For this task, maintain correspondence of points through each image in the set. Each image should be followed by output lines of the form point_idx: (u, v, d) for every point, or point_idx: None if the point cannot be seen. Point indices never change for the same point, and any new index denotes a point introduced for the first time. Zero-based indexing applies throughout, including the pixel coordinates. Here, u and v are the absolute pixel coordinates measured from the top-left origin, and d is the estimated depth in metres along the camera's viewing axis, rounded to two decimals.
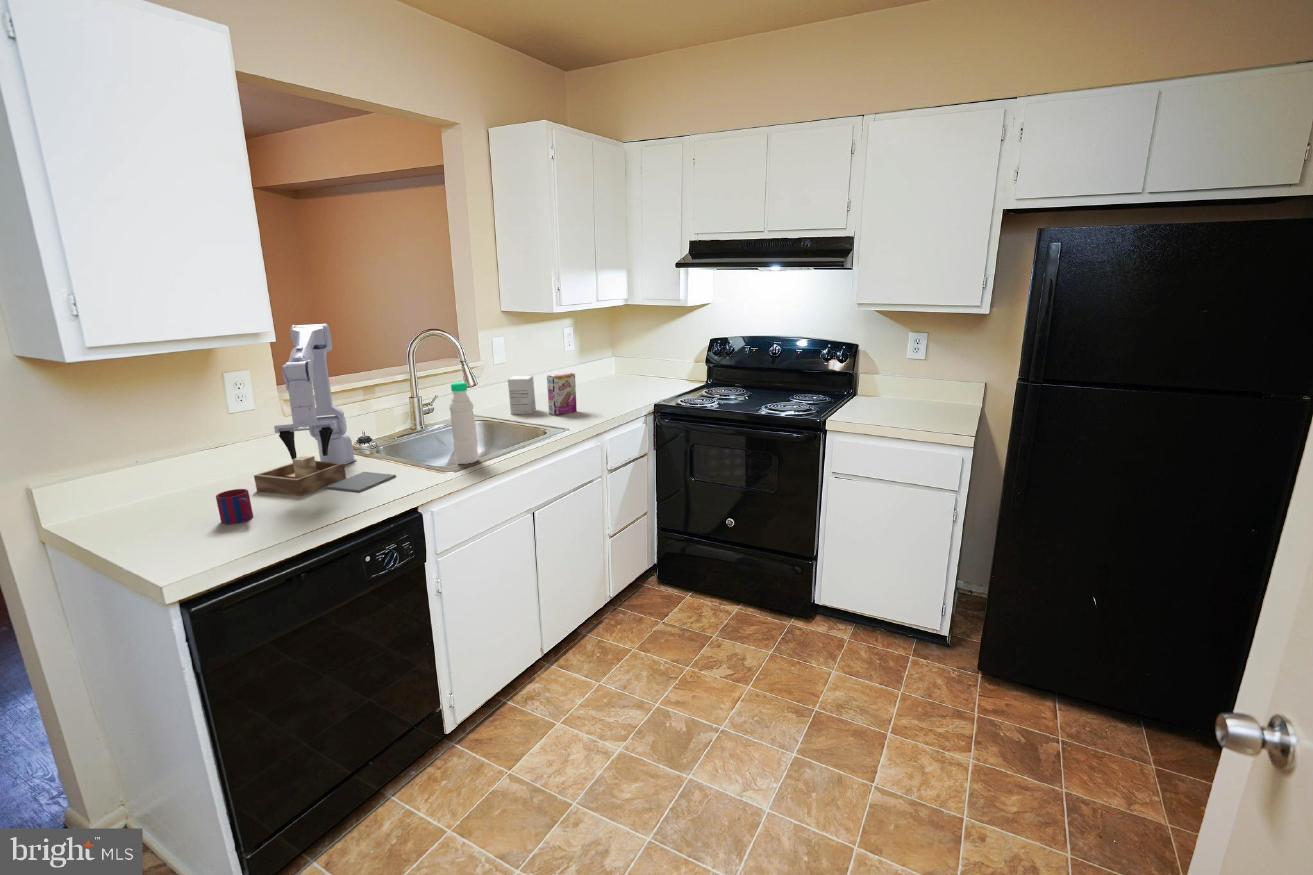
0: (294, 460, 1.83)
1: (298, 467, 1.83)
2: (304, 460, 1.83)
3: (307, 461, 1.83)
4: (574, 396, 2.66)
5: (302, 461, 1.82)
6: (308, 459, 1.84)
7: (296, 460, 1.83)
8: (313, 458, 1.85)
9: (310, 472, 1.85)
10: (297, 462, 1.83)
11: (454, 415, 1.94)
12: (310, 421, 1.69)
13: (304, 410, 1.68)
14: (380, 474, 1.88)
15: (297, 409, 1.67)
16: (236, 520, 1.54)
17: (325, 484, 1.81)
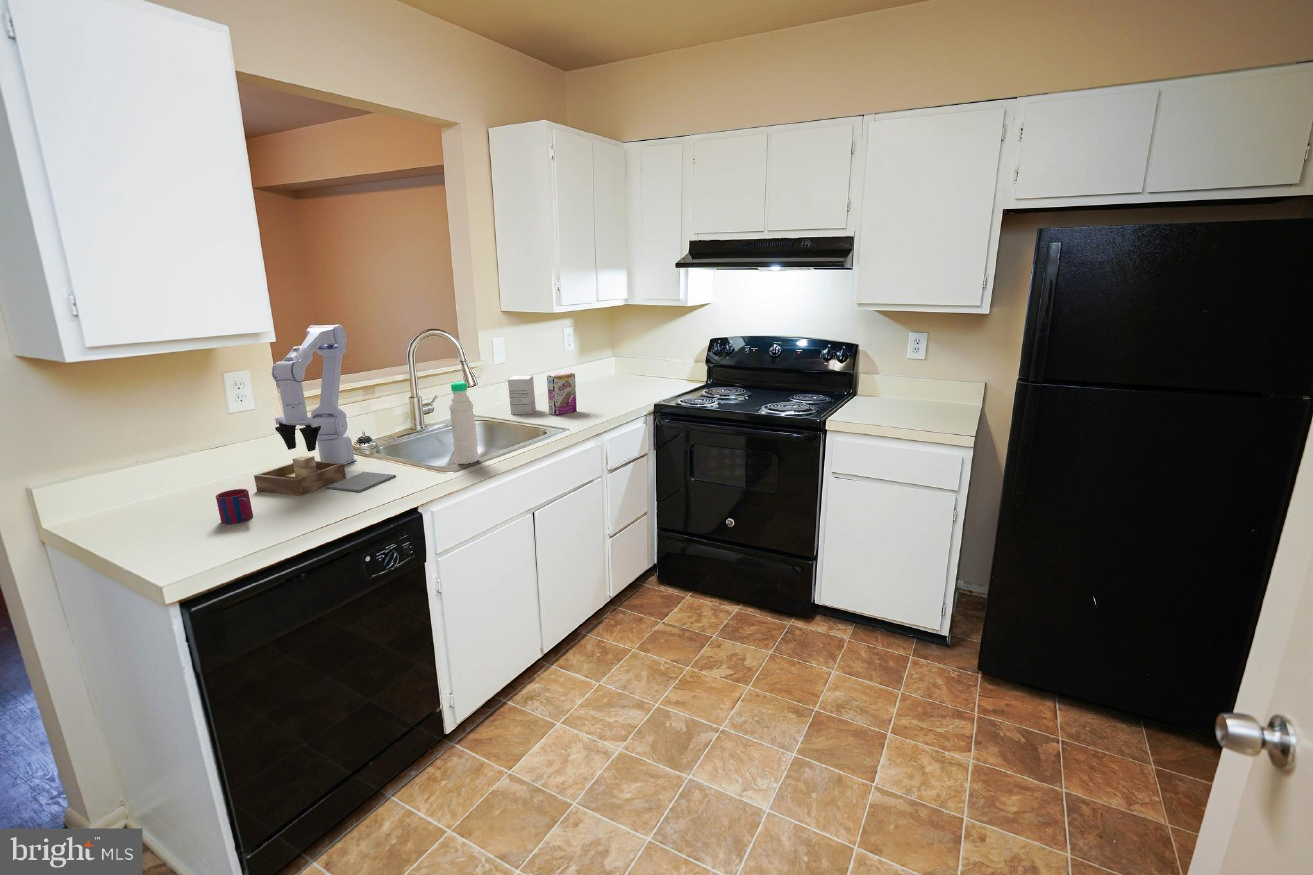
0: (294, 460, 1.83)
1: (298, 467, 1.83)
2: (304, 460, 1.83)
3: (307, 461, 1.83)
4: (574, 396, 2.66)
5: (302, 461, 1.82)
6: (308, 459, 1.84)
7: (296, 460, 1.83)
8: (313, 458, 1.85)
9: (310, 472, 1.85)
10: (297, 462, 1.83)
11: (454, 415, 1.94)
12: (294, 418, 1.79)
13: (288, 408, 1.78)
14: (380, 474, 1.88)
15: (283, 407, 1.78)
16: (236, 520, 1.54)
17: (325, 484, 1.81)
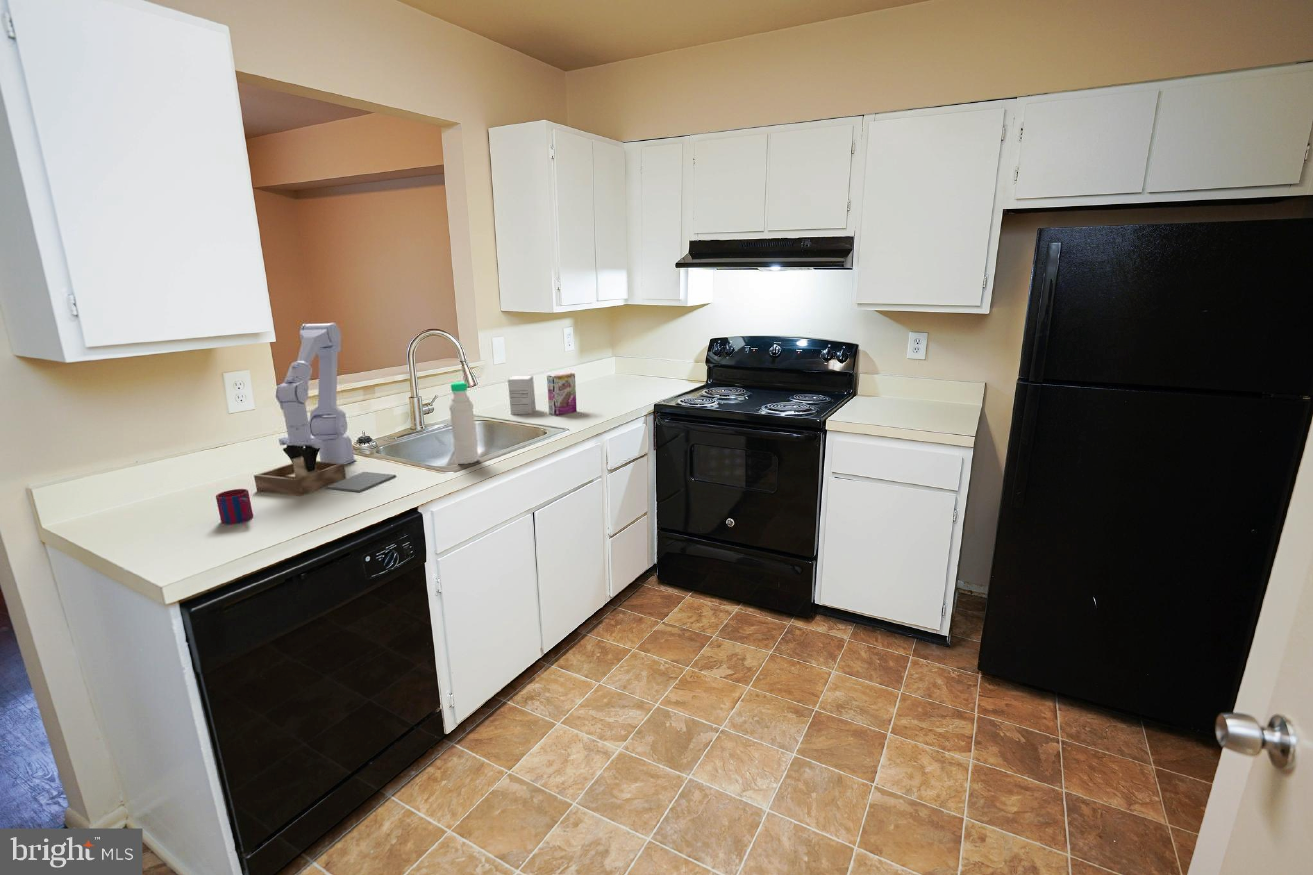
0: (294, 460, 1.83)
1: (298, 467, 1.83)
2: None
3: None
4: (574, 396, 2.66)
5: (302, 461, 1.82)
6: None
7: (296, 460, 1.83)
8: None
9: (310, 472, 1.85)
10: (297, 462, 1.83)
11: (454, 415, 1.94)
12: (298, 439, 1.80)
13: (292, 430, 1.79)
14: (380, 474, 1.88)
15: (287, 428, 1.80)
16: (236, 520, 1.54)
17: (325, 484, 1.81)
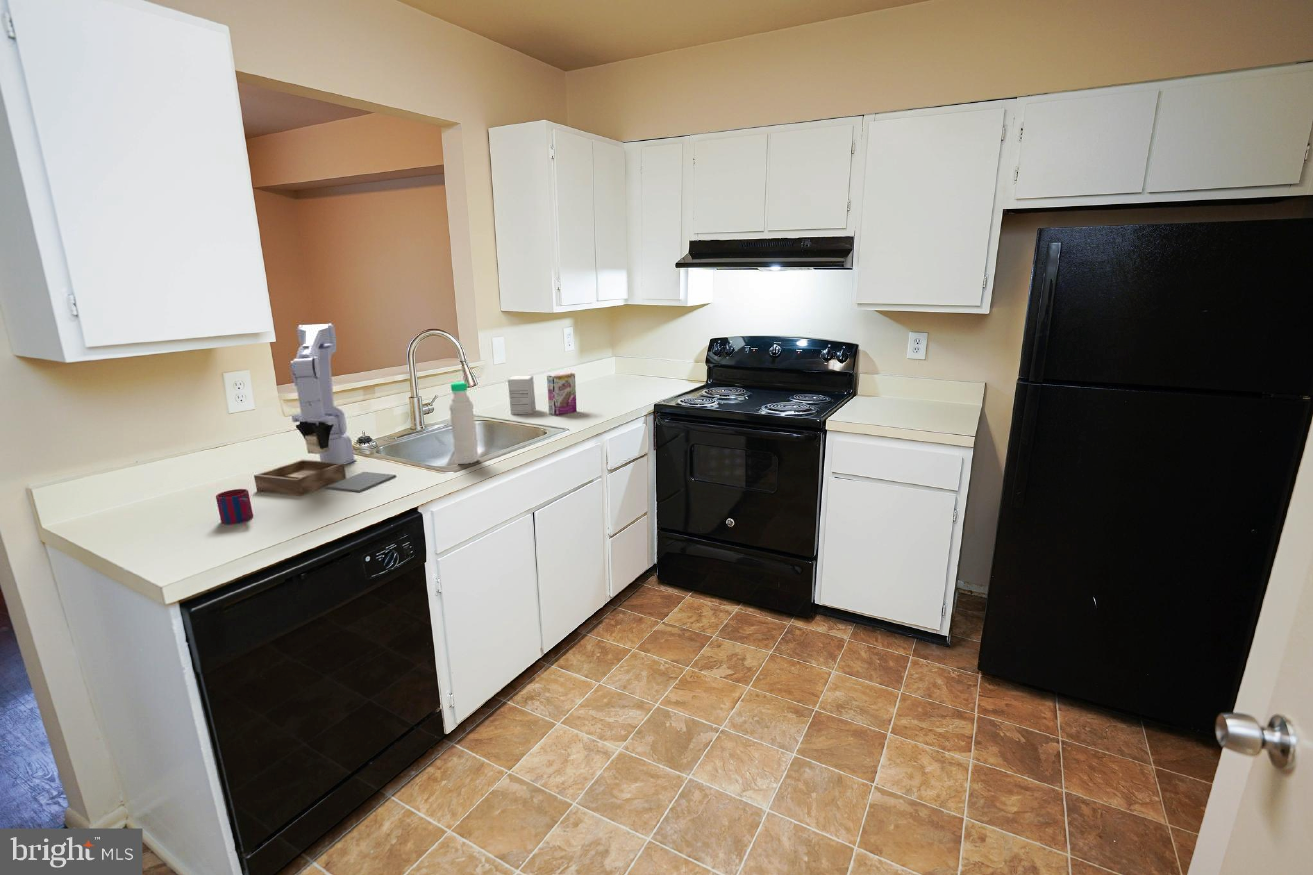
0: (307, 437, 1.80)
1: (310, 445, 1.80)
2: None
3: None
4: (574, 396, 2.66)
5: (315, 438, 1.79)
6: None
7: (309, 437, 1.80)
8: None
9: (323, 450, 1.82)
10: (309, 439, 1.80)
11: (454, 415, 1.94)
12: (311, 416, 1.78)
13: (305, 406, 1.77)
14: (380, 474, 1.88)
15: (300, 404, 1.77)
16: (236, 520, 1.54)
17: (325, 484, 1.81)
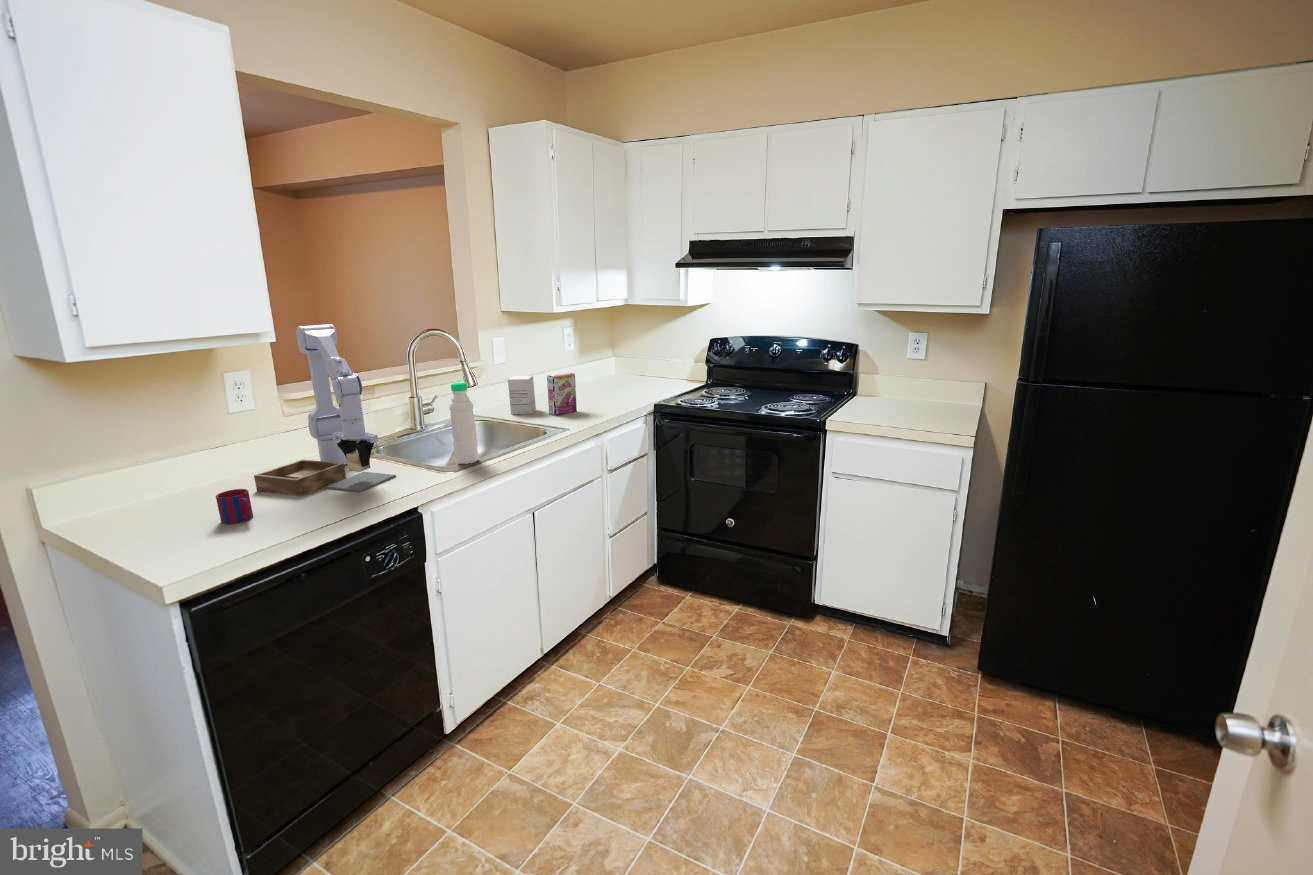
0: (348, 455, 1.79)
1: (352, 463, 1.79)
2: (358, 455, 1.79)
3: None
4: (574, 396, 2.66)
5: (356, 456, 1.78)
6: None
7: (350, 455, 1.79)
8: None
9: (364, 467, 1.81)
10: (351, 457, 1.79)
11: (454, 415, 1.94)
12: (353, 434, 1.77)
13: (347, 424, 1.76)
14: (380, 474, 1.88)
15: (342, 422, 1.76)
16: (236, 520, 1.54)
17: (325, 484, 1.81)
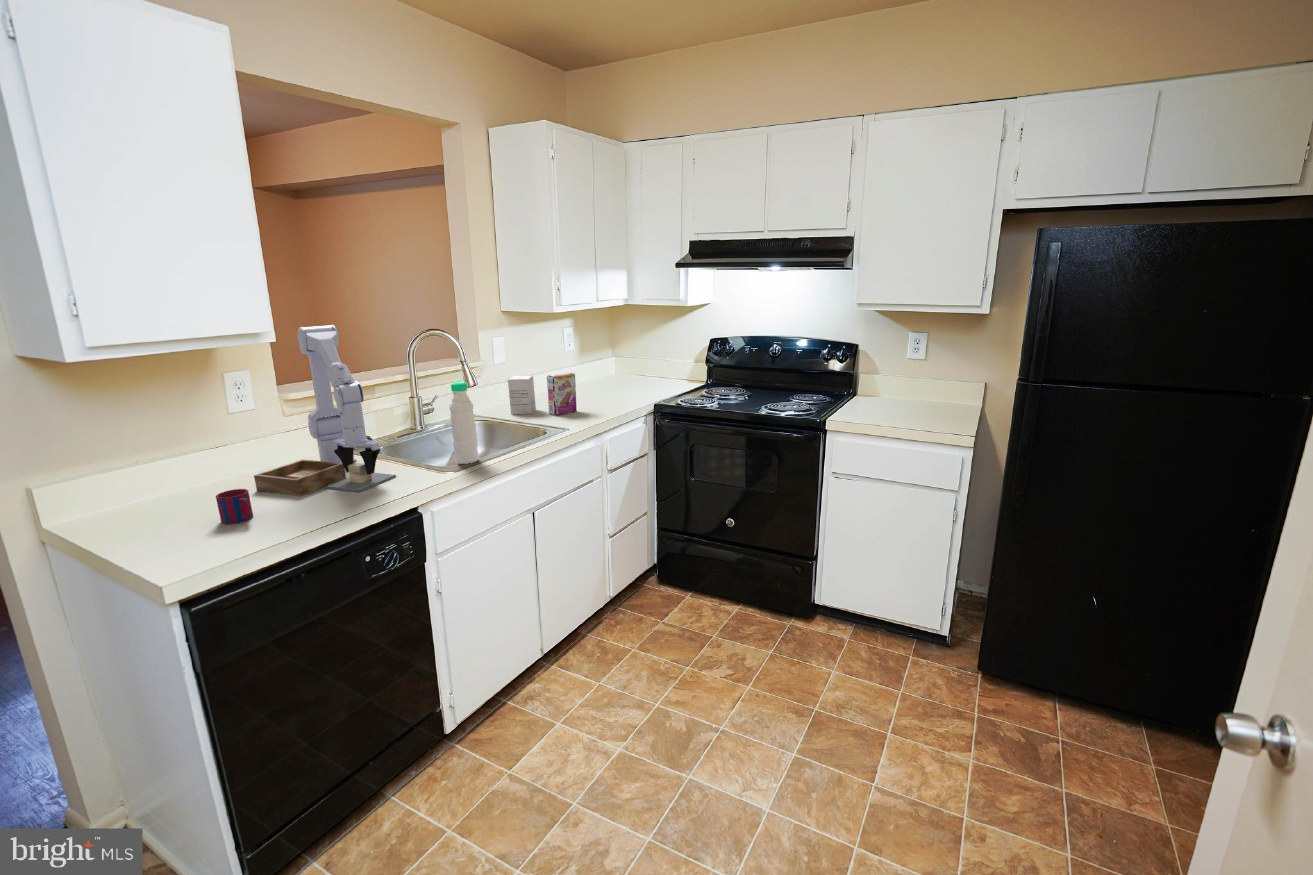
0: (350, 466, 1.80)
1: (353, 474, 1.80)
2: (360, 466, 1.80)
3: (363, 467, 1.80)
4: (574, 396, 2.66)
5: (358, 467, 1.79)
6: (364, 465, 1.81)
7: (352, 466, 1.80)
8: None
9: (366, 479, 1.82)
10: (352, 468, 1.80)
11: (454, 415, 1.94)
12: (355, 441, 1.77)
13: (349, 431, 1.76)
14: (380, 474, 1.88)
15: (344, 430, 1.77)
16: (236, 520, 1.54)
17: (325, 484, 1.81)
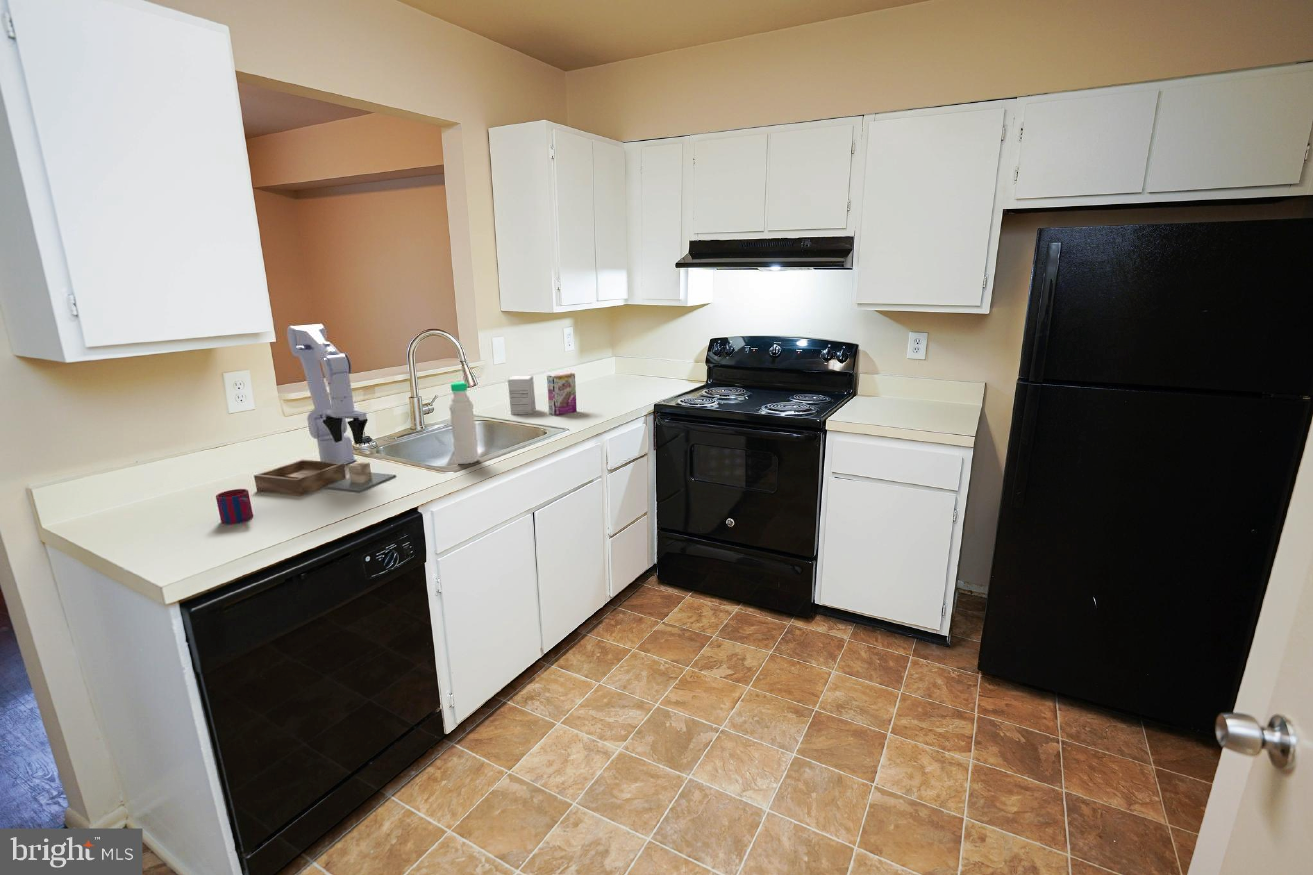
0: (350, 466, 1.80)
1: (353, 474, 1.80)
2: (360, 466, 1.80)
3: (363, 467, 1.80)
4: (574, 396, 2.66)
5: (358, 467, 1.79)
6: (364, 465, 1.81)
7: (352, 466, 1.80)
8: (368, 464, 1.82)
9: (366, 479, 1.82)
10: (352, 468, 1.80)
11: (454, 415, 1.94)
12: (342, 411, 1.81)
13: (336, 401, 1.80)
14: (380, 474, 1.88)
15: (332, 400, 1.81)
16: (236, 520, 1.54)
17: (325, 484, 1.81)
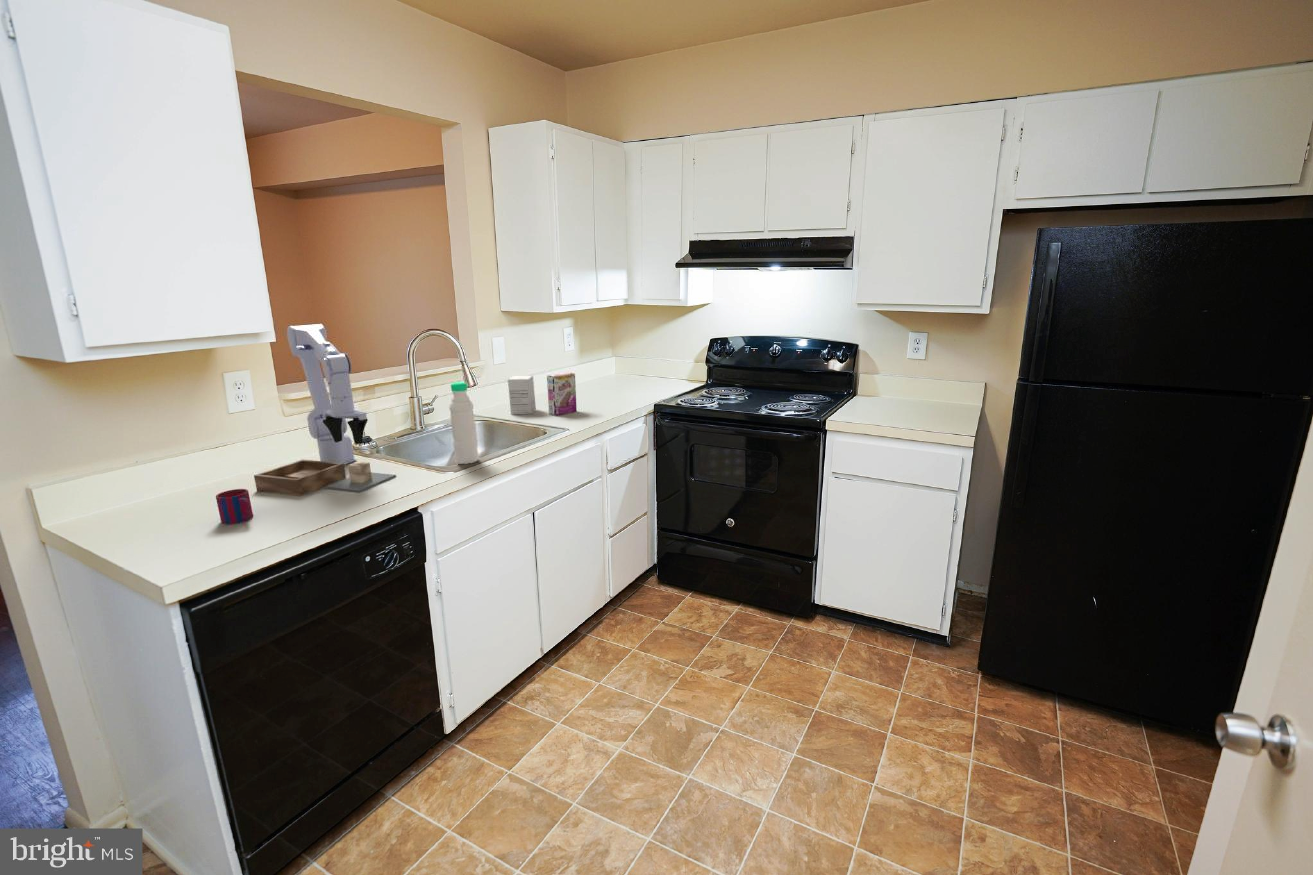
0: (350, 466, 1.80)
1: (353, 474, 1.80)
2: (360, 466, 1.80)
3: (363, 467, 1.80)
4: (574, 396, 2.66)
5: (358, 467, 1.79)
6: (364, 465, 1.81)
7: (352, 466, 1.80)
8: (368, 464, 1.82)
9: (366, 479, 1.82)
10: (352, 468, 1.80)
11: (454, 415, 1.94)
12: (342, 411, 1.81)
13: (336, 401, 1.80)
14: (380, 474, 1.88)
15: (332, 400, 1.81)
16: (236, 520, 1.54)
17: (325, 484, 1.81)
